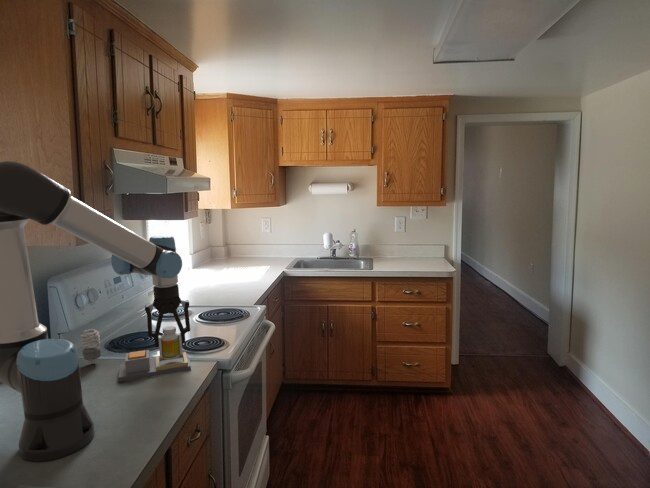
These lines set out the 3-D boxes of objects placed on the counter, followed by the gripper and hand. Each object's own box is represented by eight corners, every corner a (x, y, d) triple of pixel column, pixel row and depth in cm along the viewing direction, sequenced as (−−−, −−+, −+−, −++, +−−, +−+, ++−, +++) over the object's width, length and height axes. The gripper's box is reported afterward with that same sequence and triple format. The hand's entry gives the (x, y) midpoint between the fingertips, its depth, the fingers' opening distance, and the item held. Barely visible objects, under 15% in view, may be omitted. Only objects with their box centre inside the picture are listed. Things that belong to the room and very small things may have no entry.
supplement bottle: (177, 360, 144) (174, 330, 142) (160, 360, 144) (157, 331, 142) (182, 353, 149) (180, 325, 148) (166, 353, 149) (163, 325, 148)
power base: (118, 382, 136) (117, 364, 136) (120, 368, 147) (119, 352, 146) (191, 370, 144) (189, 353, 143) (188, 357, 154) (187, 342, 153)
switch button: (130, 368, 140) (129, 357, 140) (130, 362, 144) (129, 352, 144) (145, 365, 142) (145, 355, 141) (146, 360, 146) (145, 350, 145)
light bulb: (106, 360, 153) (102, 326, 151) (96, 367, 147) (92, 332, 146) (90, 360, 153) (86, 326, 152) (79, 367, 148) (75, 332, 146)
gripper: (194, 279, 149) (199, 346, 153) (134, 285, 143) (140, 355, 147) (196, 284, 143) (201, 354, 146) (133, 290, 136) (140, 363, 140)
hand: (171, 354), depth 146 cm, fingers closed on supplement bottle, 5 cm apart
